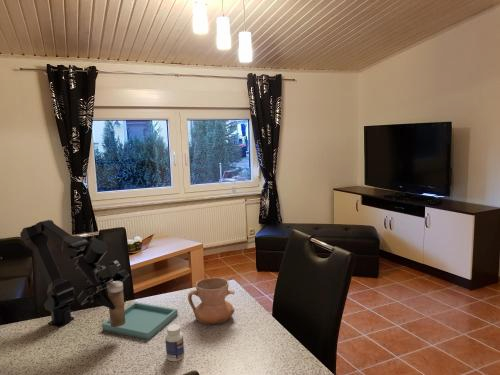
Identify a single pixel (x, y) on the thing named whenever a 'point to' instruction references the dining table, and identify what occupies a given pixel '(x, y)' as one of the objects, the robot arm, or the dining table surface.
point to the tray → (143, 320)
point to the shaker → (116, 303)
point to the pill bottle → (174, 343)
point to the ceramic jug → (212, 301)
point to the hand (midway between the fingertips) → (119, 305)
